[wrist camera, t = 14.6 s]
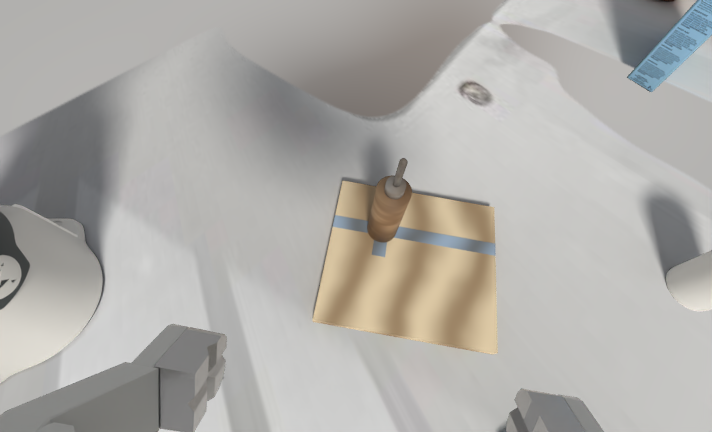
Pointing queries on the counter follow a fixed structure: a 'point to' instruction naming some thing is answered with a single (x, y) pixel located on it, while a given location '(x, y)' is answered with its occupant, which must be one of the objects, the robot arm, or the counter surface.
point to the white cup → (692, 283)
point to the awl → (389, 205)
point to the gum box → (675, 46)
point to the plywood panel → (413, 272)
